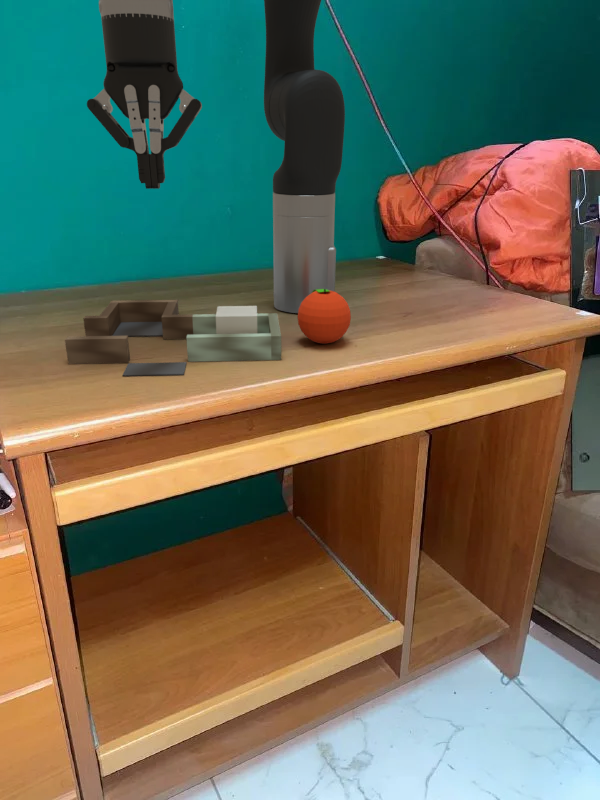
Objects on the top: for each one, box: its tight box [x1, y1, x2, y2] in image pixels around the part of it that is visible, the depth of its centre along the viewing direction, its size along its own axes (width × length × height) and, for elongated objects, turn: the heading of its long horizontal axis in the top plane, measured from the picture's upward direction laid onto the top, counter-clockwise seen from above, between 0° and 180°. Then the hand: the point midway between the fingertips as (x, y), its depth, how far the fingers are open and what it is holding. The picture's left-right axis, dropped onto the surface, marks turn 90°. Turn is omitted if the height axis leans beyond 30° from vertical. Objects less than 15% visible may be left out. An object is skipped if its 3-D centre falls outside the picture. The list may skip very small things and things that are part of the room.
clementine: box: [297, 289, 352, 345], centre depth 82 cm, size 8×7×7 cm
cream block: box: [215, 305, 258, 334], centre depth 79 cm, size 5×5×5 cm
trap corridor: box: [64, 299, 282, 377], centre depth 81 cm, size 25×23×3 cm
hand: (152, 187), depth 74 cm, fingers closed
